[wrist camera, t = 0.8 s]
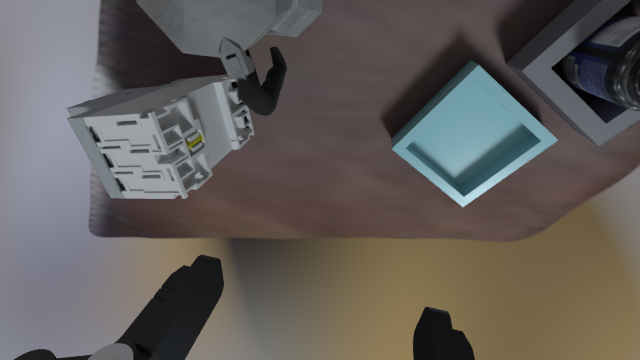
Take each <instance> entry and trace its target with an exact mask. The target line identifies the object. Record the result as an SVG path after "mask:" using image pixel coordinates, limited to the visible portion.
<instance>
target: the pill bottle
mask: <svg viewBox="0 0 640 360" xmlns="http://www.w3.org/2000/svg"><path fill="white" fill-rule="evenodd" d="M560 69H561V73H562V75H563V78H564V80H566V81H567V82H568V83H569V84H570V85H572V86H574V87H576V88H578V89H581V90H584V91H586V92H588V93H591V94H593V95H596V96H598V97H601V98H603V99H605V100H608V101H610V102H613V103H615V104H617V105H620V106H622V107H624V108H628V109H630V110H634V111H640V16H617V15H616V16H612V17H611V18H610V19H608V20H607V21H606V22H605V23H604V24H602V25H601V26H600V27H599V28H598V29H597V30H595V31H594V32H593V33H592V34H591V35H589V36H588V37H587V38H586V39H585V40H583V41H582V42H581V43H580V44H579V45H577V46H576V47H575V48H574V49H573V50H571V51H570V52H569V53H568V54H567V55H566V56H564V57H563V58H562V59H561V65H560Z"/></svg>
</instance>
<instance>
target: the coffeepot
mask: <svg viewBox="0 0 640 360" xmlns="http://www.w3.org/2000/svg"><path fill="white" fill-rule="evenodd" d="M136 1H137V4H138V5H139V6H140V7H141V8H142V9H143V10H144V11H145V12H146V13H147V15H148V16H149V17H150V18H151V19H152V20H153V21H154V22H155V23H156V24H157V25H158V27H159V28H160V29H161V30H162V31H163V32H164V33H165V34H166V35H167V36H168V38H169V39H170V40H171V41H172V42H173V43H174V44H175V45H176V46H177V47H178V48H179V50H180V51H181V52H182V53H186V54H194V55H203V56H211V57H219V58H221V60H222V63H223V65H224V67H225V69H226V72H227V74H228V76H229V79H230V80H233V79H235V80H236V84H237V88H238V94H239V96H240V99H241V100H242V102H243V103H244V104H245V105H246V106H248V107H249V108H250V109H251V110H253V111H254V112H255V113H257V114H260V115H264V116H267V115H270V114H271V113H273V111H274V110H275V108H276V105H277V101H278V97H279V94H280V91H281V88H282V85H283V81H284V77H285V73H286V71H287V67H286V63H285V60H284V58H283V57H282V55H281V53H280V51H279V49H278V48H277V47H271V48H270V52H271V56H272V62H273V67H272V68H271V69H270V70H269V71H268V73H267V75H266V80H265V81H264V83H263V84H262V86H261V85H260V82H259V80H258V76H257V73H256V69H255V66H254V63H253V61H252V58H251V56H250V53H249V50H248V49H249V48H250V47H251V46H253V45H254V44H255V43H256V42H258V41H259V40H260V39H261V38H263V37H264V36H265V35H266V34H270V35H279V36H288V37H298V36H299V35H300V34H301V33H302V32H303V31H304V30H305V29H306V28H307V27H308V26H309V25H310V24H311V23H312V22H313V21H314V20H315V19H316V18H317V17H318V16H319V15H320V14H321V13H322V8H323V0H136Z"/></svg>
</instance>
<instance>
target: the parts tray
mask: <svg viewBox="0 0 640 360" xmlns="http://www.w3.org/2000/svg"><path fill="white" fill-rule="evenodd" d="M391 141H392V150H394V151H395V152H396V153H397V154H399V155H400V156H401V157H402V158H403V159H405V160H406V161H407V162H408V163H410V164H411V165H412V166H413V167H414V168H416V169H417V170H418V171H419V172H421V173H422V174H423V175H424V176H425V177H427V178H428V179H429V180H430V181H432V182H433V183H434V184H435V185H436V186H438V187H439V188H440V189H441V190H443V191H444V192H445V193H446V194H447V195H449V196H450V197H451V198H452V199H454V200H455V201H456V202H457V203H458V204H460V205H461V206H462V207H464V206H465V205H467V204H468V203H470V202H471V201H473V200H474V199H475V198H477V197H478V196H480V195H481V194H483V193H484V192H485V191H487V190H488V189H490V188H491V187H492V186H494V185H495V184H497V183H498V182H500V181H501V180H502V179H504V178H505V177H507V176H508V175H510V174H511V173H512V172H514V171H515V170H517V169H518V168H519V167H521V166H522V165H524V164H525V163H527V162H528V161H529V160H531V159H532V158H534V157H535V156H537V155H538V154H539V153H541V152H542V151H544V150H545V149H546V148H548V147H549V146H551V145H552V144H554V143H555V142H556V141H558V140H557V139H556V138H555V137H554V136H553V135H552V134H551V133H550V132H549V131H548V130H547V129H546V128H545V127H544V126H543V125H542V124H541V123H540V122H538V121H537V120H536V119H535V118H534V117H533V116H532V115H531V114H530V113H529V112H528V111H527V110H526V109H525V108H524V107H523V106H522V105H521V104H520V103H518V102H517V101H516V100H515V99H514V98H513V97H512V96H511V95H510V94H509V93H508V92H507V91H506V90H505V89H504V88H503V87H502V86H501V85H499V84H498V83H497V82H496V81H495V80H494V79H493V78H492V77H491V76H490V75H489V74H488V73H487V72H486V71H485V70H484V69H483V68H482V67H480V66H479V65H478V64H477V63H475V62H473V61H472V60H470V61H469V62H468V63H467V64H466V65H465V66H464V67H463V68H462V69H461V70H460V71H459V72H458V73H457V74H456V75H455V76H454V77H453V78H452V79H451V80H450V81H449V82H448V83H447V84H446V85H445V86H444V87H443V88H442V89H441V90H440V91H439V92H438V93H437V94H436V95H435V96H434V97H433V98H432V99H431V100H430V101H429V102H428V103H427V104H426V105H425V106H424V107H423V108H422V109H421V110H420V111H419V112H418V113H417V114H416V115H415V116H414V117H412V118H411V119H410V120H409V121H408V122H407V123H406V124H405V125H404V126H403V127H402V128H401V129H400V130H399V131H398V132H397V133H396V134H395V135H394V136H393V137H392V138H391Z"/></svg>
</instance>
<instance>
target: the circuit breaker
mask: <svg viewBox="0 0 640 360" xmlns="http://www.w3.org/2000/svg"><path fill="white" fill-rule="evenodd" d="M232 82H236V80H235V79H233V80H230V79H229V76H228V74H226V75H216V76H206V77H195V78H185V79H178V80H175V81H172V82H169V83H170V84H164V85H161V86H155V87H144V88H133V89H125V90H122V91H119V92H116V93H113V94H109V95H106V96H103V97H100V98H97V99H94V100H89V101H85V102H84V103H81V104H78V105H75V106H72V107H69V108H67V110H68V112H69V113H70V115H71V117H70V118H67V120H68V121H69V123H70V125H71V127H72V129H73V131H74V132H75V134H76V136H77V138H78V140H79V141H80V143H81V145H82V147H83V149H84V150H85V152H86V154H87V156H88V158H89V159H90V161H91V163H92V165H93V167H94V168H95V170H96V172H97V174H98V176H99V178H100V179H101V181H102V183H103V185H104V187H105V188H106V190H107V192H108V194H109V196H110V197H111V198H148V199H175V198H176V197H177V196H178V195H181V196H182V198H183V199H186V198H187V197H188V194H187V192H188V191H189V190H191V189H198V188H199V187H201V186H202V185H203V184H204V183H205V182H206V181H207V180H208V179H209V178H210V177H211V176H212V175H213V174H212V171H211V168H212V167H213V166H215V165H216V164H217V163H218V162H219V161H220V160H221V159H222V158H223V157H224V156H225V155H226V154H227V153H229V152H230V151H231V150H232V149H233V150H235V149H240V148H241V147H242V146H243V145H244V144H245V143H246V142H247V141H248V140H249V139H250V137H249V136H250V135H254V134H255V133H254V129H253V125H252V121H251V117H250V112H249V108H248V106H246V105H245V104H244V103H243V104H240V103H241V102H242V100H241V99H240V97H239V94H238V88H233V87H232V84H231V83H232ZM243 110H244V111H245V112H242V111H243ZM245 116H247V120H248V122H246V121H245ZM247 126H249V128H245V127H247ZM196 178H201V179H196Z"/></svg>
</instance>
